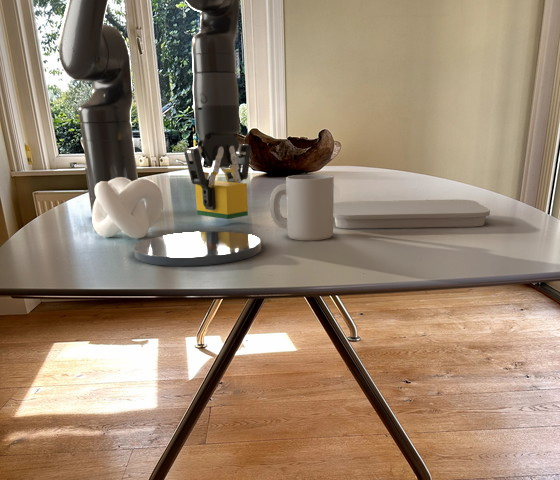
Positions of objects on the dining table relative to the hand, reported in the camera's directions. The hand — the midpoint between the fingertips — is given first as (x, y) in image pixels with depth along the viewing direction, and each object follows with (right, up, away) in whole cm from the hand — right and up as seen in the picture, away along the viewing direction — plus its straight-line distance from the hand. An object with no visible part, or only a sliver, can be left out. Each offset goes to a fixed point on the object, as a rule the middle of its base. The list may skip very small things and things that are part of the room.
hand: (221, 207), depth 107 cm
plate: (-1, -12, -21) cm, 25 cm away
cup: (+14, -8, -13) cm, 21 cm away
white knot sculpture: (-15, -8, -9) cm, 19 cm away
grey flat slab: (+33, -3, -2) cm, 33 cm away
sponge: (0, -1, +1) cm, 1 cm away
